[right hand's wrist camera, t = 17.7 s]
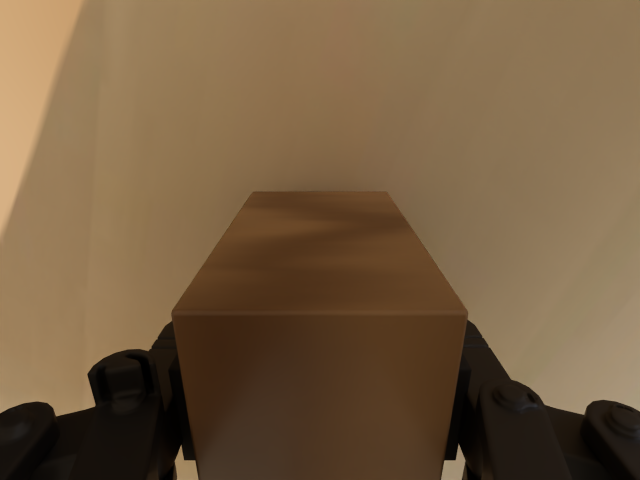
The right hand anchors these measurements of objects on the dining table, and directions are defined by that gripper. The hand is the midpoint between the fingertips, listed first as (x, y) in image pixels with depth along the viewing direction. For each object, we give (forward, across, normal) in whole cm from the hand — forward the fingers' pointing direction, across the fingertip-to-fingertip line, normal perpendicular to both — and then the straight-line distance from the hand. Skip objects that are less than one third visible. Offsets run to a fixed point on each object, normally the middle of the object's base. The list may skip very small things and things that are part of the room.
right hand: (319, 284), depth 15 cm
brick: (+1, 0, 0) cm, 1 cm away
